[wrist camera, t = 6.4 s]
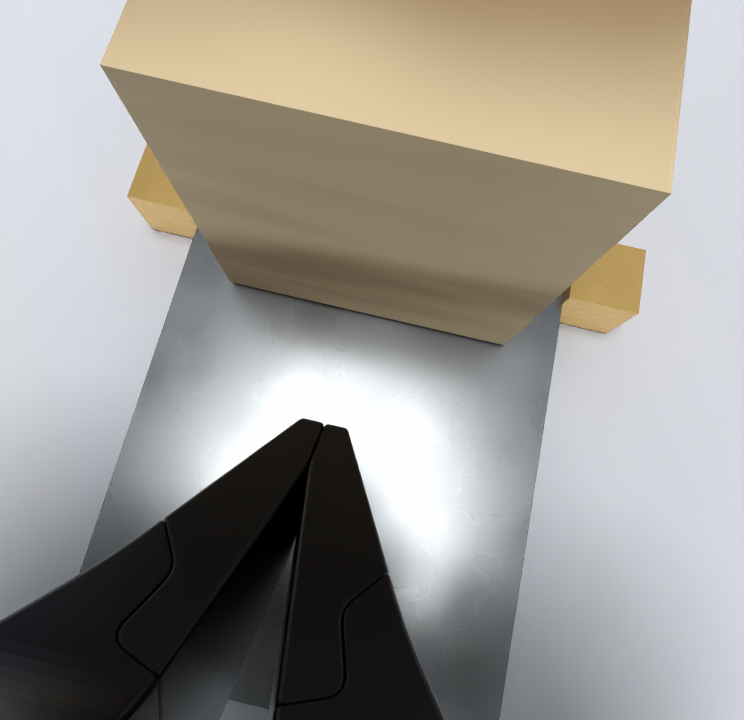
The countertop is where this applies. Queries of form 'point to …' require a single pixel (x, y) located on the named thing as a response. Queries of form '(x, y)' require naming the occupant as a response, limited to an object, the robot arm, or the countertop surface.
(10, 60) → the countertop surface
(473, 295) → the tan wooden block
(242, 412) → the metal tray
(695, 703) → the countertop surface
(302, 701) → the robot arm
